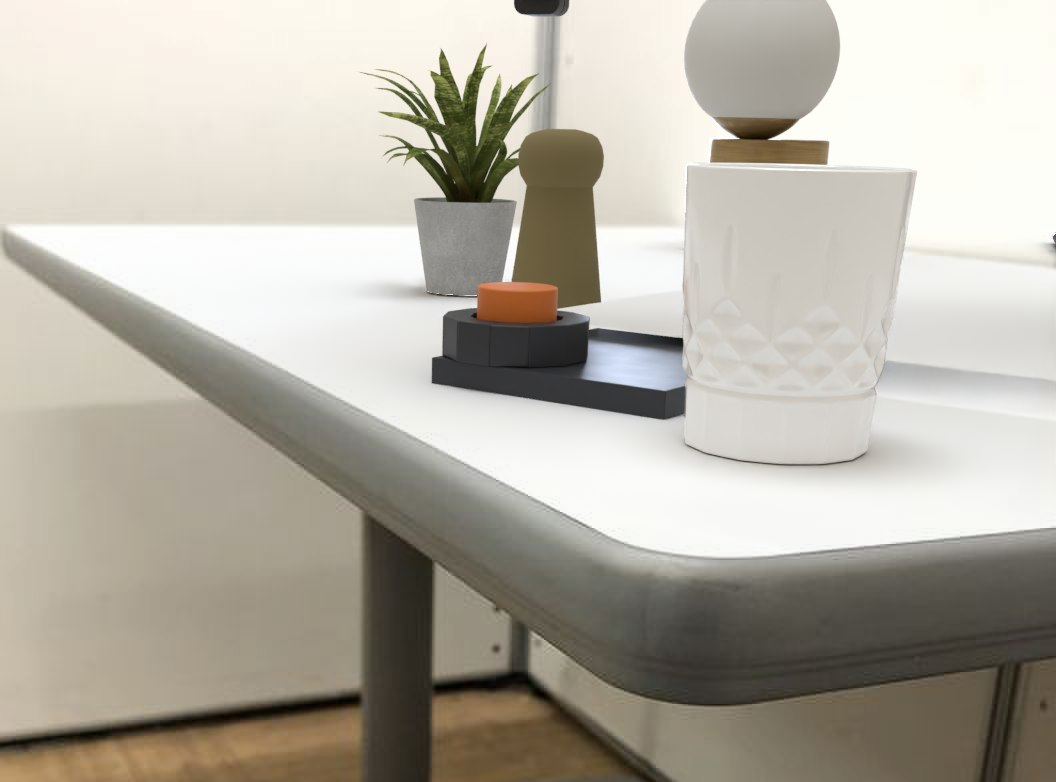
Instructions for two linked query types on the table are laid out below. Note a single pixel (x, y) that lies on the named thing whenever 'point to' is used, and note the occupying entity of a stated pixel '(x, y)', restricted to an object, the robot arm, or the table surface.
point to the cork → (560, 214)
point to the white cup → (788, 305)
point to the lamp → (762, 75)
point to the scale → (563, 363)
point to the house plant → (463, 180)
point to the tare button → (517, 302)
